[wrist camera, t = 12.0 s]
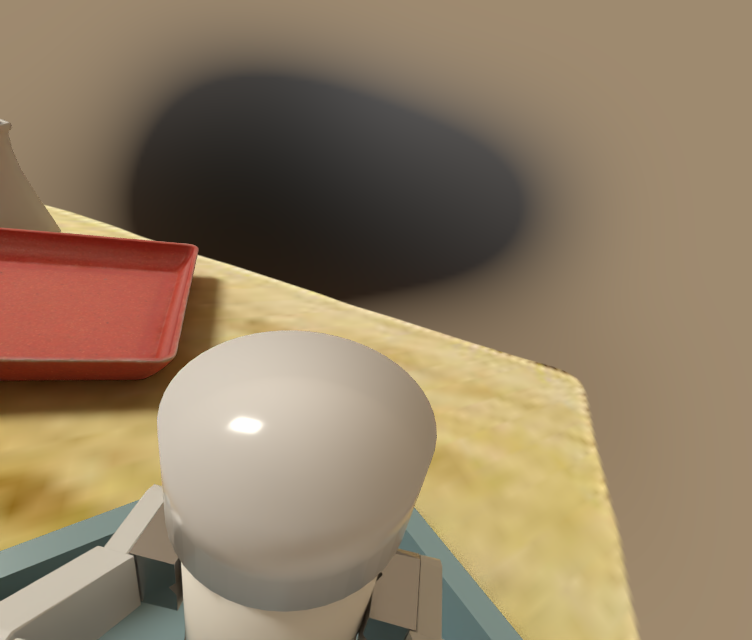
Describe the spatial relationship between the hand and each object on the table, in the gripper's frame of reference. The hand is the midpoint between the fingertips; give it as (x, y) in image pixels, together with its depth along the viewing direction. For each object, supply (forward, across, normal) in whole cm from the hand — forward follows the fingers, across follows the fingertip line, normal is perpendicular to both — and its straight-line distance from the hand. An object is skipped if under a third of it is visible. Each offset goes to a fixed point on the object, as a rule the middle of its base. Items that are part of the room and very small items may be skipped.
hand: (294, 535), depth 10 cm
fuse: (-1, 0, +7) cm, 7 cm away
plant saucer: (+18, +23, +10) cm, 30 cm away
